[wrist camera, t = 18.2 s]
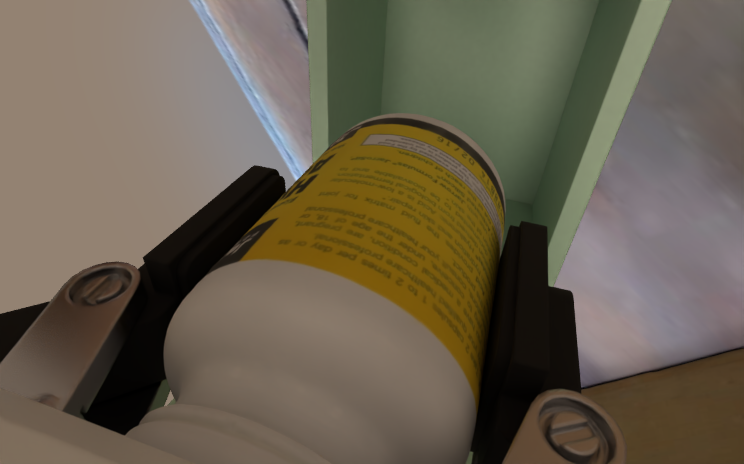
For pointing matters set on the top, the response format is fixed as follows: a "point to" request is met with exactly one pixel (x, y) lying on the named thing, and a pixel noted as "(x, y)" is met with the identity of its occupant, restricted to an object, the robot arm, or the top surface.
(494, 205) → the supplement bottle
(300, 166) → the top surface
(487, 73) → the box
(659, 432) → the caddy
